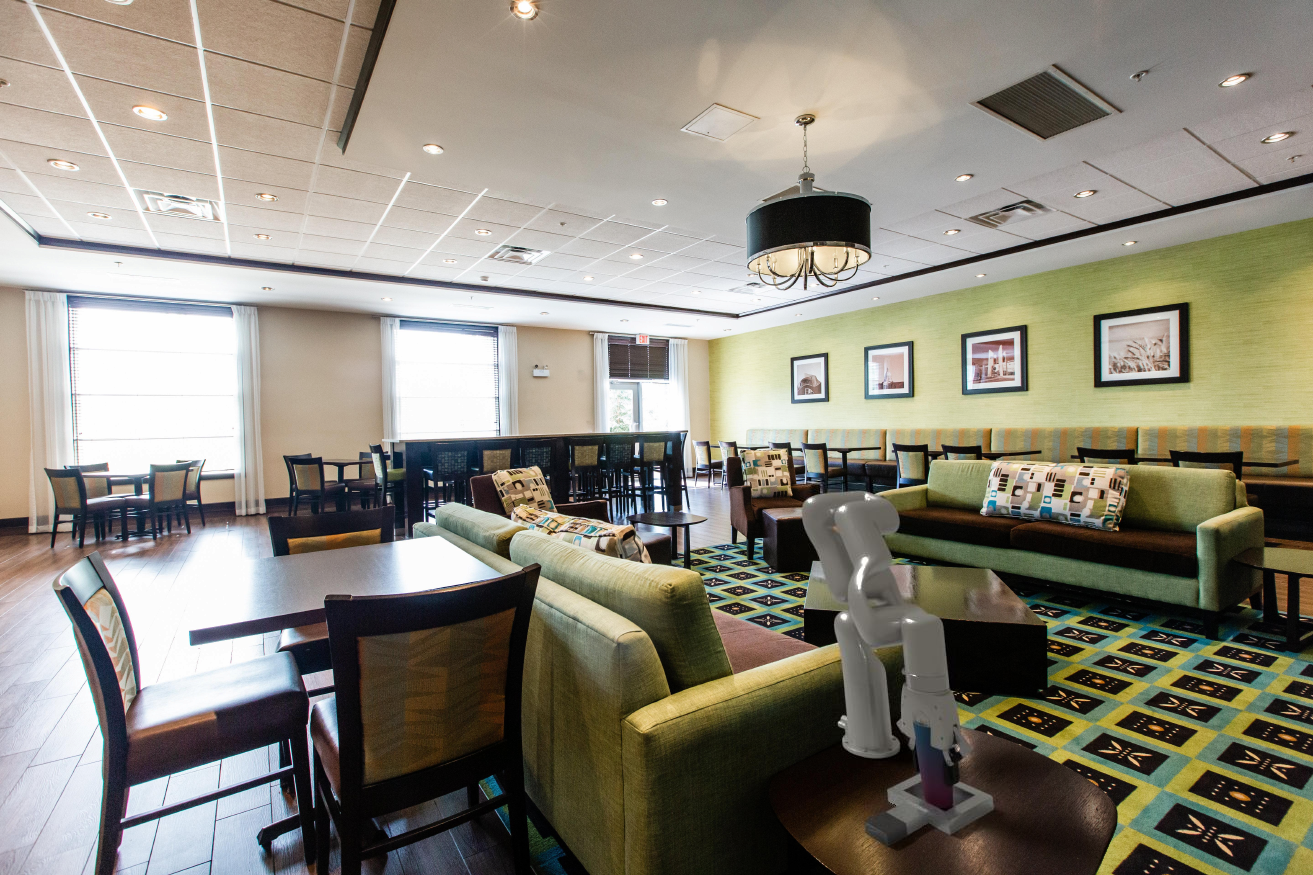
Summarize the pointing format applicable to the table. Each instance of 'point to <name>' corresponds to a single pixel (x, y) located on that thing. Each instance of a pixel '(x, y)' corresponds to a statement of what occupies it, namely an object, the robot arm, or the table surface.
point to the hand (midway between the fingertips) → (936, 775)
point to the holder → (926, 811)
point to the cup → (932, 769)
